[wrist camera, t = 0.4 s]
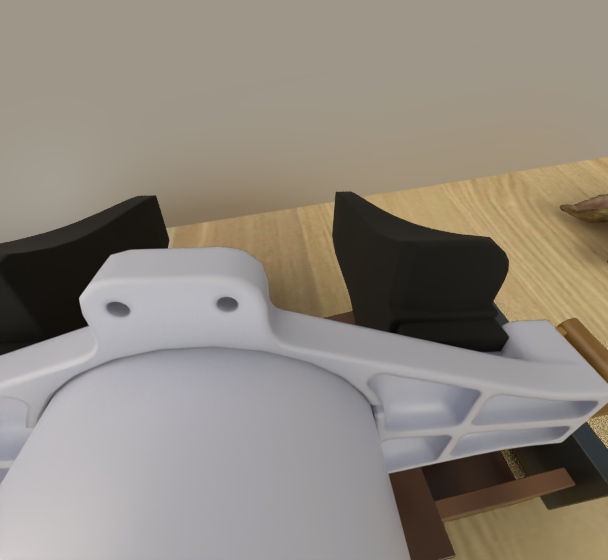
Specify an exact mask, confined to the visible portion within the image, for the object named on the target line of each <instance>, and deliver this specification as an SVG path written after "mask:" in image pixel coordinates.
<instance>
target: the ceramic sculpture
mask: <svg viewBox="0 0 608 560" xmlns="http://www.w3.org/2000/svg"><path fill="white" fill-rule="evenodd" d="M560 209H561V210H562V211H564V212H566V213H568V214H570V215H572V216H574V217H576V218H579V219H581V220H584V221H587V222H592V223H593V222H608V194H607V195H599V196H596V197H592V198H591V199H590V200H585V201H583V202H580V203H578V204H575V205H561V206H560ZM607 263H608V261H607Z"/></svg>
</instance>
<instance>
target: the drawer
mask: <svg viewBox="0 0 608 560" xmlns="http://www.w3.org/2000/svg"><path fill="white" fill-rule="evenodd" d="M492 304H493V305H494V307H495V308H496V309H497V310H498V316H497V317H494V318H495V319H496V320H497V322H498V323H499V324H500V326H501V327H502V326H503V325H505V324H506V323H508V322H509V321H508V320H507V319H506V317H505V316H504V315H503V313H502V312H501V311H500V310H499V308H498V307H497V306H496V304H495V303H494V302H493V303H492ZM556 329H557V330H558V331H559V333H560V334H561V335H562V336H563V337H564V338H565V339H566V340H567V341H568V342H569V343H570V344H571V345H572V346H573V347H574V348H575V349H576V351H577V352H578V353H579V354H580V355H581V356H582V357H583V358H584V359H585V360H586V361H587V362H588V363H589V364H590V365H591V366H592V367H593V368H594V370H595V371H596V372H597V373H598V374H599V375H600V376H601V377H602V378H603V379H604V380H605V381H606V382H607V383H608V350H607V349H606V348H605V347H604V346H603V345H602V344H601V343H600V342H599V341H598V340H597V339H596V338H595V337H594V336H593V335H592V334H591V333H590V331H589V330H588V329H587V328H586V327H585V326H584V325H583V324H582V323H581V322H580V321H579V320H578V319H577V318H572V319H568V320H566V321H564V322H562V323H561V324H559V325H558V326H557V327H556ZM607 414H608V403H607V404H606V405H604V406H603V407H602V408H601V409H600V410H599V411H598V412H596V413H595V414H594V415H593V416H592V417H591V418H595V417H599V416H603V415H607ZM591 418H589V419H591ZM512 450H513V451H514V453H515V455H516V457H517V458H518V460H519V462H520V463H521V465H522V467H523V468H524V470H525V472H526V474H527V475H528V477H524V478H520V479H515V477H514V475H513V473H512V472H511V470H510V468H509V466H508V464H507V463H506V461H505V459H504V457H503V456H502V454H501V452H500V450H499V451H494V452H488V453H483V454H478V455H473V456H468V457H464V458H459V459H454V460H450V461H445V462H440V463H436V464H431V465H426V466H422V467H421V469H422V471H423V474H424V476H425V479H426V482H427V484H428V487H429V489H430V492H431V494H432V497H433V499H434V502H435V504H436V507H437V510H438V512H439V515H440V517H441V520H442V522H443V523H445V522H449V521H452V520H456V519H460V518H464V517H468V516H471V515H475V514H479V513H483V512H487V511H490V510H494V509H498V508H502V507H506V506H510V505H513V504H517V503H521V502H524V501H528V500H531V499H534V498H537V497H541V499H542V501H543V503H544V504H545V506H546V508H547V509H548V510H552V509H556V508H560V507H565V506H569V505H573V504H578V503H582V502H586V501H590V500H595V499H599V498H603V497H607V496H608V449H607V448H606V446H605V445H604V444H603V442H602V441H601V440H600V439H599V437H598V436H597V435H596V433H595V432H594V431H593V429H592V428H591V427H590V426H589V424H588V423H587V422H585V423H584V424H582V425H581V426H580V427H579V428H578V429H577V430H575V431H574V432H573V433H572V434H571V435H570V436H568V437H567V438H566V439H565V440H564V441H563V442H561V443H552V444H543V445H533V446H525V447H518V448H512Z"/></svg>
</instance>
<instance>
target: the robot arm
mask: <svg viewBox="0 0 608 560" xmlns="http://www.w3.org/2000/svg"><path fill="white" fill-rule="evenodd" d="M332 236H333V243H334V248H335V253H336V257H337V260H338V263H339V265H340V268H341V271H342V274H343V277H344V280H345V283H346V286H347V289H348V292H349V295H350V299H351V304H352V309H353V314H354V319H355V324H356V325H352V324H347V323H343V322H338V321H333V320H329V319H324V318H319V317H315V316H310V315H305V314H301V313H296V312H291V311H287V310H282V309H279V308H277V307H276V306H274V305H273V303H272V302H271V299H270V295H269V286H268V277H267V274H266V272H265V270H264V267H263V265H262V263H261V262H260V261H259V260H257V259H256V258H255V257H253V256H252V255H250V254H249V253H248V252H246V251H244V250H238V249H233V248H228V247H202V248H170V249H168V244H169V237H168V234H167V230H166V227H165V224H164V220H163V217H162V214H161V210H160V208H159V204H158V201H157V197H156V196H137V197H134V198H131V199H128V200H126V201H124V202H122V203H119V204H117V205H115V206H113V207H111V208H108V209H106V210H104V211H102V212H100V213H97V214H95V215H93V216H90V217H88V218H85V219H83V220H81V221H78V222H76V223H73V224H70V225H68V226H65V227H62V228H59V229H56V230H53V231H49V232H46V233H43V234H39V235H35V236H31V237H27V238H23V239H19V240H15V241H10V242H5V243H1V244H0V560H411V559H410V555H409V551H408V547H407V543H406V540H405V536H404V532H403V528H402V524H401V520H400V516H399V513H398V509H397V505H396V501H395V497H394V493H393V490H392V486H391V482H390V478H389V473H394V472H399V471H403V470H408V469H412V468H417V467H422V466H426V465H431V464H436V463H440V462H445V461H450V460H454V459H459V458H464V457H468V456H473V455H478V454H483V453H488V452H494V451H499V450H505V449H511V448H518V447H525V446H533V445H543V444H552V443H561V442H563V441H564V440H565V439H566V438H567V437H568V436H570V435H571V434H572V433H573V432H574V431H575V430H577V429H578V428H579V427H580V426H581V425H582V424H584V423H585V422H586V421H587V420H588V419H589V418H591V417H592V416H593V415H594V414H595V413H596V412H598V411H599V410H600V409H601V408H602V407H603V406H604V405H606V404H607V403H608V383H607V382H606V381H605V380H604V379H603V378H602V377H601V376H600V375H599V374H598V373H597V372H596V371H595V370H594V368H593V367H592V366H591V365H590V364H589V363H588V362H587V361H586V360H585V359H584V358H583V357H582V356H581V355H580V354H579V353H578V352H577V351H576V349H575V348H574V347H573V346H572V345H571V344H570V343H569V342H568V341H567V340H566V339H565V338H564V337H563V336H562V335H561V334H560V333H559V331H558V330H557V329H556V328H555V327H554V326H553V325H552V324H551V323H550V322H549V321H548V320H527V321H513V322H508V323H506V324H505V325H503V326H502V327H501V326H500V324H499V323H498V322H497V320H496V319H495V318H494V317H497V316H498V310H497V309H496V308H495V307H494V305H493V304H492V303H493V301H494V299H495V297H496V295H497V293H498V291H499V290H500V288H501V286H502V284H503V282H504V280H505V278H506V275H507V273H508V268H509V260H508V258H507V255H506V253H505V252H504V251H503V250H502V249H501V248H500V247H499V246H498V245H497V244H496V243H495V242H494V241H493V240H492V239H491V238H490V237H483V236H473V235H462V234H456V233H450V232H444V231H439V230H435V229H431V228H427V227H424V226H420V225H417V224H414V223H411V222H408V221H406V220H403V219H400V218H398V217H396V216H394V215H392V214H390V213H388V212H386V211H384V210H382V209H380V208H378V207H376V206H375V205H373V204H371V203H370V202H368V201H367V200H365V199H363V198H362V197H360V196H358V195H356V194H355V193H353V192H336V196H335V207H334V220H333V233H332Z"/></svg>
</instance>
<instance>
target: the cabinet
mask: <svg viewBox="0 0 608 560" xmlns="http://www.w3.org/2000/svg"><path fill="white" fill-rule="evenodd" d="M324 319H329V320H333V321H338V322H343V323H347V324H352V325H356V324H355V319H354V314H353V311H351V312H347V313H343V314H338V315H334V316H330V317H325V318H324ZM389 478H390V482H391V486H392V490H393V493H394V497H395V501H396V505H397V509H398V513H399V516H400V520H401V524H402V528H403V532H404V536H405V540H406V543H407V547H408V551H409V555H410V559H411V560H446V559H450V558H453V557H455V553H454V550H453V548H452V545H451V543H450V540H449V538H448V535H447V533H446V530H445V527H444V525H443V522H442V520H441V517H440V515H439V512H438V510H437V507H436V504H435V502H434V499H433V497H432V494H431V492H430V489H429V487H428V484H427V482H426V479H425V476H424V474H423V471H422V469H421V467H417V468H412V469H408V470H403V471H399V472H394V473H389Z"/></svg>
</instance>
